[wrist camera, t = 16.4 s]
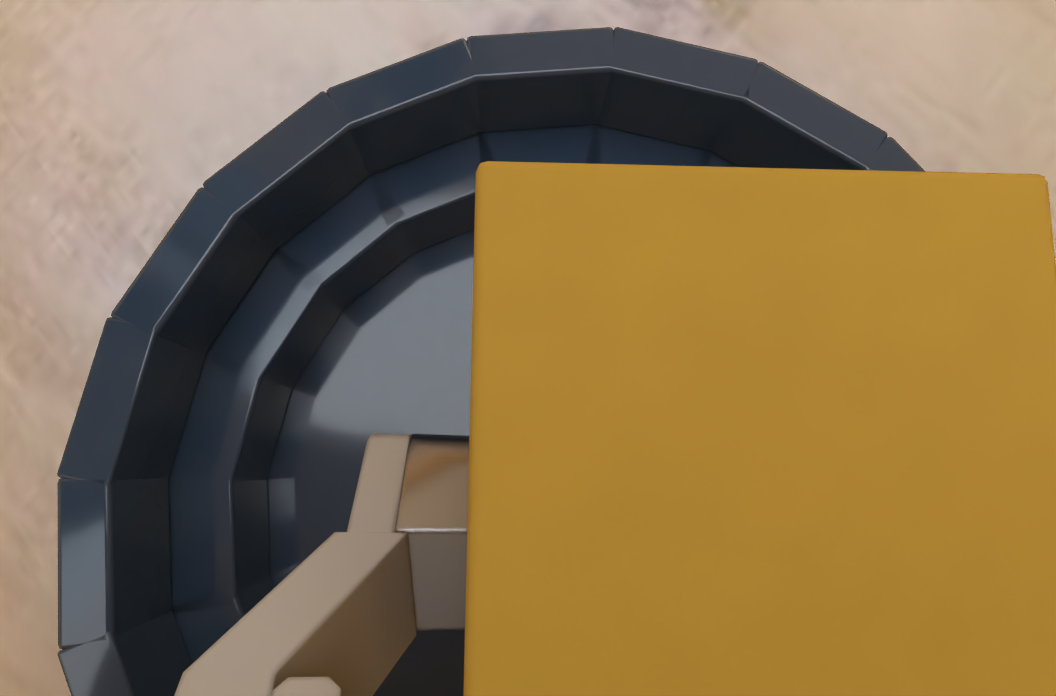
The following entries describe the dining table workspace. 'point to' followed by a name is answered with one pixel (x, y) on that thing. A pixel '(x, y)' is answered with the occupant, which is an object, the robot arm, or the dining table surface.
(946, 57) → the dining table surface
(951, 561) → the yellow rectangular block
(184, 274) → the bowl
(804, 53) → the dining table surface
